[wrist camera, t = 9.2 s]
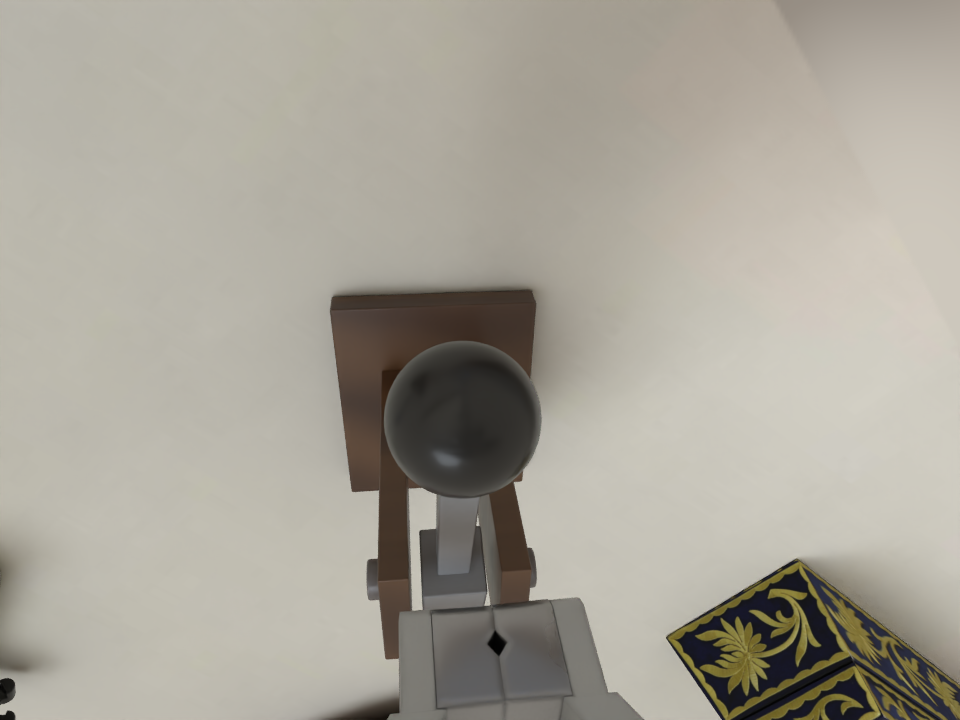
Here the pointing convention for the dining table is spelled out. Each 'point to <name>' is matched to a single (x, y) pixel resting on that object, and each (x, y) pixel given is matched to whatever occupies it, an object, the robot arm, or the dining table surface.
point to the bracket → (363, 391)
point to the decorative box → (808, 658)
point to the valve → (7, 693)
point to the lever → (460, 453)
